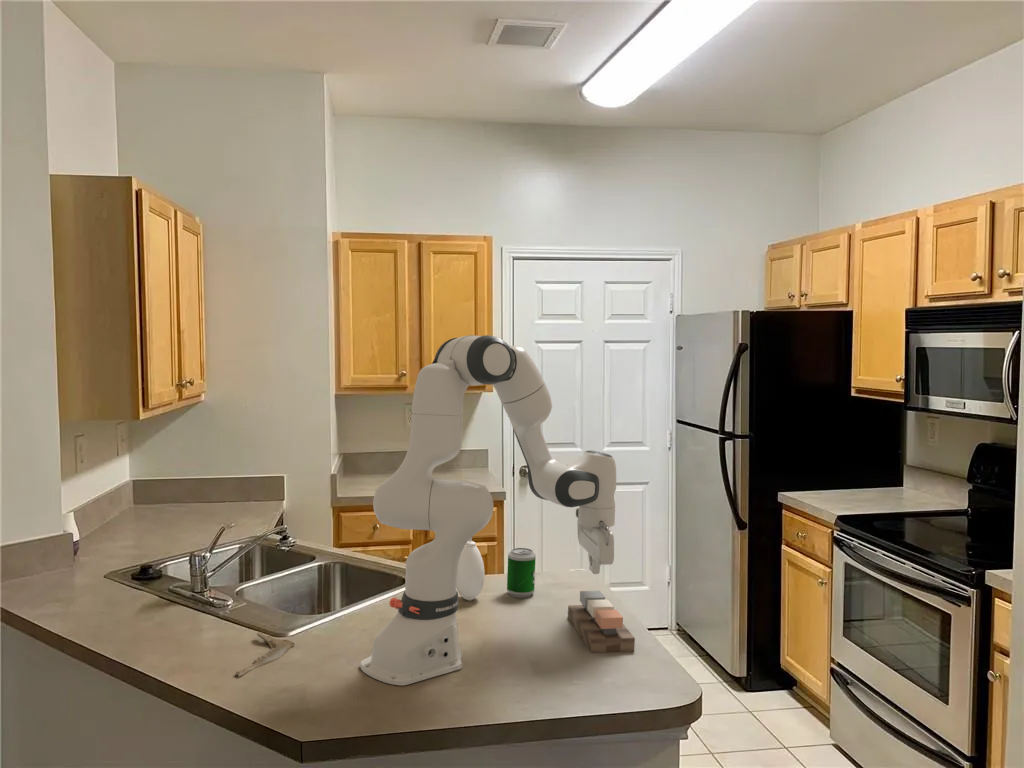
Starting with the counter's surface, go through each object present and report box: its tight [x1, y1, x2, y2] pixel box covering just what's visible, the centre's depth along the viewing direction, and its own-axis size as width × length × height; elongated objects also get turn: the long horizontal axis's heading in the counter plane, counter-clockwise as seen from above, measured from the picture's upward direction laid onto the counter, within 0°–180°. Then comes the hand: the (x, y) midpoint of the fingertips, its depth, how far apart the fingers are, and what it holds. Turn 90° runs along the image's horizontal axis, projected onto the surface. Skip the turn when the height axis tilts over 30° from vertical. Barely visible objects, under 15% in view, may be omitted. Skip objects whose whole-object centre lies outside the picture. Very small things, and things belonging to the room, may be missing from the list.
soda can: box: [506, 547, 537, 598], centre depth 214 cm, size 8×8×12 cm
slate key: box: [579, 590, 606, 613], centre depth 195 cm, size 5×5×6 cm
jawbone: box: [234, 632, 295, 678], centre depth 169 cm, size 9×20×2 cm, turn 6°
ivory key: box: [587, 598, 615, 624], centre depth 188 cm, size 5×5×6 cm
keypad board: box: [567, 604, 636, 654], centre depth 188 cm, size 22×10×3 cm, turn 10°
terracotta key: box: [595, 609, 624, 635], centre depth 181 cm, size 5×5×6 cm
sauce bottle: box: [456, 536, 486, 601], centre depth 208 cm, size 8×8×18 cm
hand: (594, 572), depth 194 cm, fingers closed
